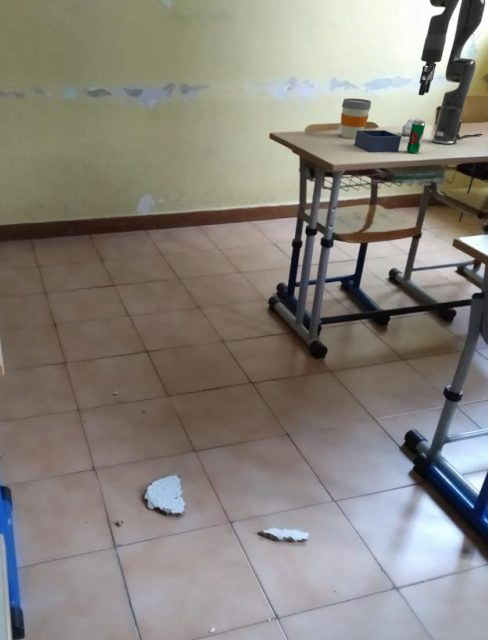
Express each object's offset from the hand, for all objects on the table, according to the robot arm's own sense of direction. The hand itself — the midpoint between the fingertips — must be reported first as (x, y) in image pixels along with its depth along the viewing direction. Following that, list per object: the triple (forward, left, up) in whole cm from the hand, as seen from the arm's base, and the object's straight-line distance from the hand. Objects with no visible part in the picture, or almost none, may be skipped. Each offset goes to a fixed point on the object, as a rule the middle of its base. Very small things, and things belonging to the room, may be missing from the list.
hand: (423, 93), depth 242 cm
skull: (-21, -33, -22) cm, 45 cm away
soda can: (0, +1, -22) cm, 22 cm away
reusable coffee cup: (+11, -32, -22) cm, 40 cm away
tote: (+12, -8, -22) cm, 26 cm away
